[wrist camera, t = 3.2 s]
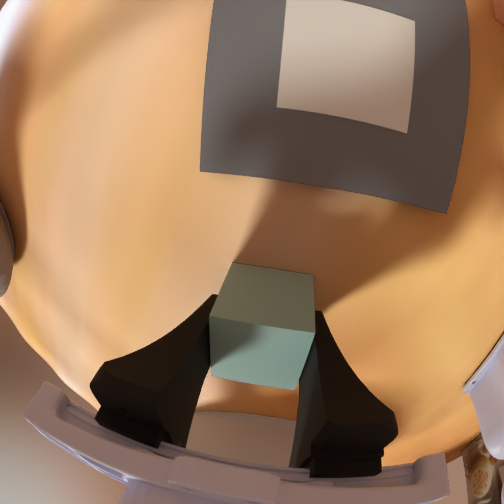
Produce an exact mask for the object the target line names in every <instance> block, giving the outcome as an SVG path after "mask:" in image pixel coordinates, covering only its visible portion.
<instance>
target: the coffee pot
mask: <svg viewBox="0 0 504 504" xmlns="http://www.w3.org/2000/svg"><path fill="white" fill-rule="evenodd" d="M14 255H15V246H14V240H13V234H12V230H11V226H10V223H9V220H8V218H7V215H6V212H5V210H4V208H3V205H2V203H1V202H0V297H2V296H3V295H4V294H5V292H6V291H7V289H8V286H9V284H10V281H11V276H12V269H13V259H14Z"/></svg>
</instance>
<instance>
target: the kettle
mask: <svg viewBox="0 0 504 504" xmlns="http://www.w3.org/2000/svg"><path fill="white" fill-rule="evenodd" d="M295 427H296V421H294V420H289V419H283V418H277V417H271V416H263V415H255V414H247V413H236V412H219V411H197V412H195V413H194V416H193V420H192V424H191V428H190V432H189V436H188V440H187V445H186V449H189V450H193V451H196V452H200V453H204V454H208V455H213V456H217V457H222V458H226V459H231V460H237V461H242V462H248V463H255V464H262V465H270V466H279V467H289V462H290V457H291V452H292V446H293V440H294V434H295Z"/></svg>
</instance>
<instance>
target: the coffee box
mask: <svg viewBox="0 0 504 504" xmlns="http://www.w3.org/2000/svg"><path fill="white" fill-rule="evenodd" d="M462 456H463V462H464V468H465V475H466V483H467V493H468V504H502V501H501V494H502V487H503V483H504V460H500V459H496V458H495V457H493V456H492V455H491V454H490V452H489V451H488V450H487V448H486V446H485V443H484V440H483V437H482V433H481V434H480V435H479V436H478V437H477V438H476V439H475V440H474V441H473V442H472V443H470V444H469V445H468V446H467V447H466V448H465V449H463V450H462Z"/></svg>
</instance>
